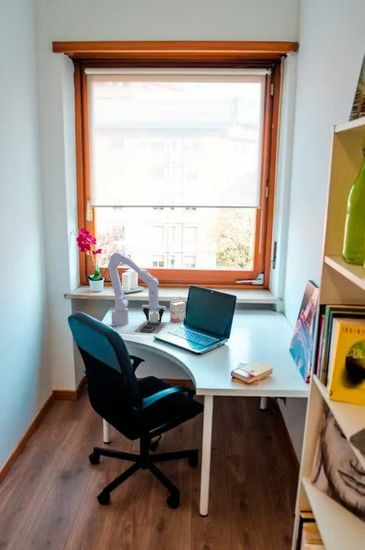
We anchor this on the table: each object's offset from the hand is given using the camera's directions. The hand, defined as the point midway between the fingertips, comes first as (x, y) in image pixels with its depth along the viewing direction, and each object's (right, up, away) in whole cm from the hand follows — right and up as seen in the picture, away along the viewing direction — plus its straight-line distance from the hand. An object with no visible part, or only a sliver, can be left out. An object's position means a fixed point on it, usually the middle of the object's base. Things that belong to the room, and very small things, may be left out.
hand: (154, 320), depth 242 cm
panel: (-1, -4, -5) cm, 7 cm away
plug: (0, -2, 0) cm, 2 cm away
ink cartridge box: (+14, -1, +7) cm, 16 cm away
